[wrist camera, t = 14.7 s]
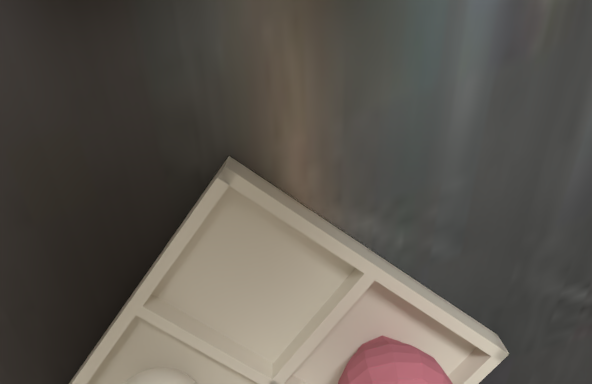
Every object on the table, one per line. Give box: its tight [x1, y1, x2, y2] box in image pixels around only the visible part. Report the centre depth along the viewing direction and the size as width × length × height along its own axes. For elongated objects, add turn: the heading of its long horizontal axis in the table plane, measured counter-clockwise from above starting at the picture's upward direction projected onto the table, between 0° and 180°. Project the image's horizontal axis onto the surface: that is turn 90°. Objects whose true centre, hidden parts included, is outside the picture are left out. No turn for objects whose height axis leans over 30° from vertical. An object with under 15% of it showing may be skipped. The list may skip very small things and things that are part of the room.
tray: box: [69, 156, 509, 384], centre depth 42 cm, size 27×27×2 cm
